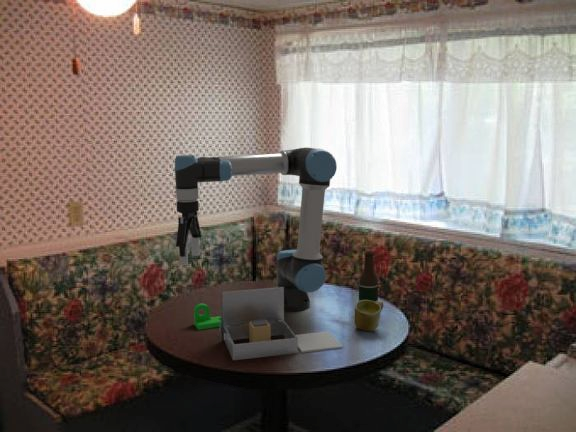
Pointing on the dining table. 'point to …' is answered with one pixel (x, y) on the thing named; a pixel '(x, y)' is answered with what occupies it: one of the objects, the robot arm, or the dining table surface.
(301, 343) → the pad
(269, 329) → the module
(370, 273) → the beer bottle
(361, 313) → the mug
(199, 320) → the mechanical part
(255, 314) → the case
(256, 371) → the dining table surface
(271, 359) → the dining table surface
